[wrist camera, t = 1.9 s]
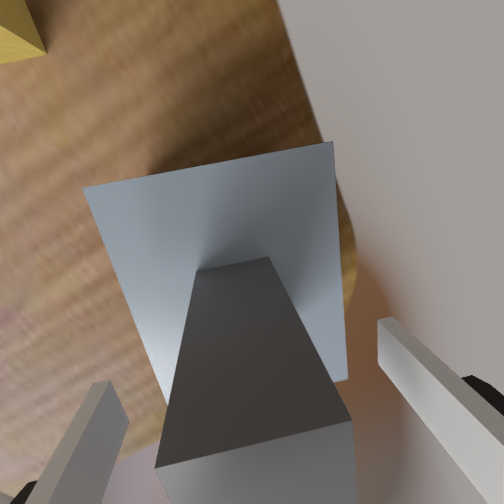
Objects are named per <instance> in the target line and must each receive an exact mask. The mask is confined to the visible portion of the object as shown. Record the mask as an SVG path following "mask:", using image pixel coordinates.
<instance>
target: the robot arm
mask: <svg viewBox="0 0 504 504" xmlns="http://www.w3.org/2000/svg"><path fill="white" fill-rule="evenodd" d="M378 364H379V365H380V367H381V368H382V369H383V370H384V372H385V373H386V374H387V376H388V377H389V378H390V379H391V381H392V382H393V383H394V384H395V386H396V387H397V388H398V390H399V391H400V392H401V393H402V395H403V396H404V397H405V398H406V400H407V401H408V402H409V404H410V405H411V406H412V407H413V409H414V410H415V411H416V412H417V413H418V415H419V416H420V417H421V419H422V420H423V421H424V423H425V424H426V425H427V427H428V428H429V429H430V430H431V432H432V433H433V434H434V435H435V437H436V438H437V439H438V441H440V443H441V444H442V446H443V447H444V448H445V449H446V451H447V452H448V453H449V454H450V456H451V457H452V458H453V460H454V461H455V462H456V463H457V465H458V466H459V467H460V468H461V470H462V471H463V472H464V474H465V475H466V476H467V478H468V479H469V480H470V481H471V483H472V484H473V485H474V486H475V487H476V489H477V490H478V491H479V493H480V494H481V495H482V497H483V498H484V499H485V500H486V502H487V503H488V504H504V396H503V395H502V394H501V393H500V392H498V391H497V390H496V389H495V388H494V387H492V386H491V385H490V384H488V383H486V382H484V381H482V380H480V379H479V378H476V377H475V376H473V375H471V376H467V377H463V378H460V377H459V376H458V375H457V374H456V373H455V372H453V371H452V370H451V369H450V368H449V367H448V366H447V365H446V364H445V363H443V362H442V361H441V360H440V359H439V358H438V357H437V356H436V355H435V354H433V353H432V352H431V351H430V350H429V349H428V348H427V347H426V346H425V345H423V344H422V343H421V342H420V341H419V340H418V339H417V338H416V337H415V336H413V335H412V334H411V333H410V332H409V331H408V330H407V329H406V328H405V327H403V326H402V325H401V324H400V323H399V322H398V321H397V320H396V319H394V318H393V317H388V318H383V319H379V320H378ZM128 424H129V420H128V417H127V415H126V413H125V411H124V409H123V407H122V405H121V402H120V400H119V398H118V396H117V394H116V392H115V390H114V388H113V385H112V383H111V381H110V380H107V381H103V382H98V383H94V384H93V385H92V387H91V389H90V391H89V392H88V394H87V396H86V397H85V399H84V401H83V403H82V404H81V406H80V408H79V410H78V411H77V413H76V415H75V417H74V418H73V420H72V422H71V424H70V425H69V427H68V429H67V431H66V432H65V434H64V436H63V438H62V439H61V441H60V443H59V445H58V446H57V448H56V450H55V452H54V453H53V455H52V457H51V459H50V460H49V462H48V464H47V466H46V467H45V469H44V471H43V473H42V474H41V476H40V478H39V480H37V481H33V482H29V483H27V484H26V486H25V487H24V488H23V489H22V490H21V491H20V492H19V494H18V495H17V496H16V497H15V498H14V499H13V501H12V502H11V503H10V504H101V501H102V499H103V495H104V493H105V490H106V487H107V484H108V481H109V479H110V475H111V473H112V470H113V467H114V464H115V461H116V458H117V456H118V453H119V450H120V447H121V444H122V441H123V438H124V436H125V433H126V430H127V427H128Z"/></svg>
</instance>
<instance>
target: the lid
mask: <svg viewBox="0 0 504 504" xmlns="http://www.w3.org/2000/svg"><path fill="white" fill-rule="evenodd" d="M333 148H334V147H333V141H331V142H325V143H319V144H314V145H309V146H303V147H298V148H293V149H287V150H282V151H277V152H271V153H266V154H261V155H255V156H250V157H245V158H239V159H234V160H229V161H223V162H218V163H213V164H207V165H202V166H197V167H191V168H186V169H181V170H175V171H170V172H165V173H159V174H154V175H149V176H143V177H138V178H133V179H127V180H122V181H117V182H111V183H106V184H101V185H95V186H90V187H85V188H82V189H83V191H84V194H85V196H86V199H87V201H88V204H89V206H90V209H91V211H92V214H93V217H94V219H95V222H96V224H97V227H98V229H99V232H100V234H101V237H102V240H103V242H104V245H105V247H106V250H107V252H108V255H109V257H110V260H111V262H112V265H113V268H114V270H115V273H116V275H117V278H118V280H119V283H120V285H121V288H122V290H123V293H124V296H125V298H126V301H127V303H128V306H129V308H130V311H131V313H132V316H133V319H134V321H135V324H136V326H137V329H138V331H139V334H140V336H141V339H142V341H143V344H144V347H145V349H146V352H147V354H148V357H149V359H150V362H151V364H152V367H153V369H154V372H155V375H156V377H157V380H158V382H159V385H160V387H161V390H162V392H163V395H164V398H165V400H166V403H167V405H168V407H167V412H166V417H165V421H164V426H163V431H162V436H161V440H160V445H159V450H158V455H157V459H156V464H155V470H156V473H157V475H158V477H159V479H160V481H161V483H162V486H163V488H164V490H165V492H166V494H167V496H168V498H169V500H170V503H171V504H357V488H356V471H355V453H354V436H353V420H352V418H351V416H350V415H349V412H348V410H347V408H346V406H345V404H344V403H343V401H342V399H341V397H340V395H339V393H338V391H337V389H336V387H335V385H334V383H333V382H337V381H341V380H345V379H348V374H347V357H346V341H345V324H344V308H343V292H342V276H341V260H340V244H339V228H338V211H337V195H336V179H335V163H334V149H333Z"/></svg>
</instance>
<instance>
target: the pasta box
mask: <svg viewBox="0 0 504 504" xmlns="http://www.w3.org/2000/svg"><path fill="white" fill-rule="evenodd" d="M46 54H47V53H46V50H45V48H44V46H43V43H42V41H41V38H40V36H39V34H38V31H37V29H36V26H35V24H34V22H33V19H32V17H31V14H30V12H29V10H28V7H27V5H26V3H25V0H0V65H1V64H5V63H10V62H14V61H19V60H23V59H28V58H32V57H37V56H41V55H46Z"/></svg>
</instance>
